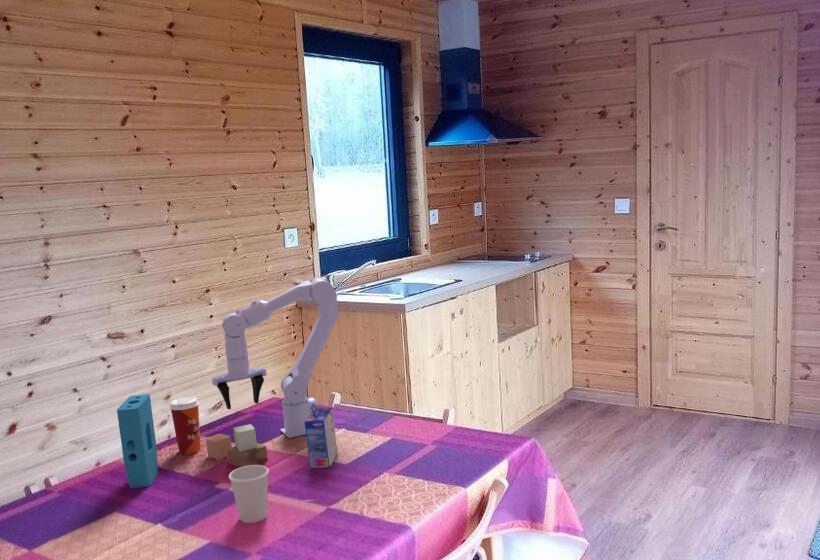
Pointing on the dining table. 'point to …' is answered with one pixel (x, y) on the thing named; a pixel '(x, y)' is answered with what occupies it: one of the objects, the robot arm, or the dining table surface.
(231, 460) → the walnut base
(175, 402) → the paper cup
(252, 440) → the sage cube
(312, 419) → the ink cartridge box
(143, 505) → the dining table surface
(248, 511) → the dixie cup
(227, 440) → the terracotta cube
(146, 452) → the block
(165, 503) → the dining table surface
